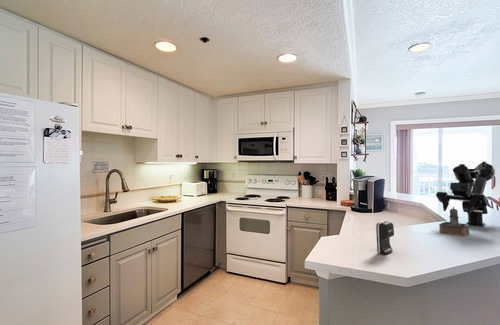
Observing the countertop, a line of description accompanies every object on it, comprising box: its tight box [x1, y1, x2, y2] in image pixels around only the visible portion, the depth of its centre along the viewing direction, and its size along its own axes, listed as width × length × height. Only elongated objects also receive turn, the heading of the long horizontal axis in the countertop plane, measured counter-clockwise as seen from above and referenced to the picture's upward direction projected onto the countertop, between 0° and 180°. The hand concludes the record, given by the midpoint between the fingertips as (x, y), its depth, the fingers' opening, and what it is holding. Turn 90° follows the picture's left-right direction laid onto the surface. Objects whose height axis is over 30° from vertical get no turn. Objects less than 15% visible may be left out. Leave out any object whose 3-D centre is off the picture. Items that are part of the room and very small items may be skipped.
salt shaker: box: [446, 206, 462, 227], centre depth 115 cm, size 6×6×12 cm
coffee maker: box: [375, 220, 395, 255], centre depth 91 cm, size 7×4×11 cm, turn 126°
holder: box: [439, 221, 470, 237], centre depth 115 cm, size 9×9×4 cm
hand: (455, 212), depth 116 cm, fingers open, 9 cm apart
